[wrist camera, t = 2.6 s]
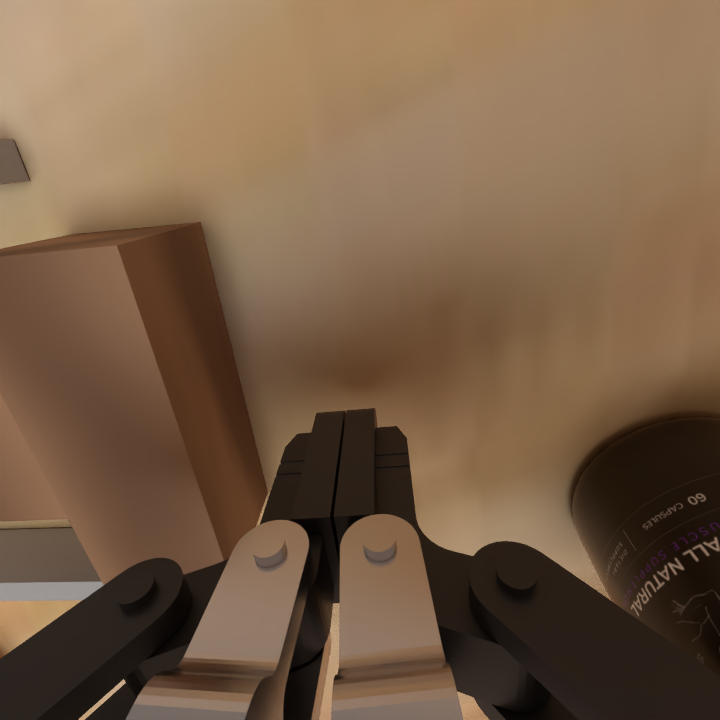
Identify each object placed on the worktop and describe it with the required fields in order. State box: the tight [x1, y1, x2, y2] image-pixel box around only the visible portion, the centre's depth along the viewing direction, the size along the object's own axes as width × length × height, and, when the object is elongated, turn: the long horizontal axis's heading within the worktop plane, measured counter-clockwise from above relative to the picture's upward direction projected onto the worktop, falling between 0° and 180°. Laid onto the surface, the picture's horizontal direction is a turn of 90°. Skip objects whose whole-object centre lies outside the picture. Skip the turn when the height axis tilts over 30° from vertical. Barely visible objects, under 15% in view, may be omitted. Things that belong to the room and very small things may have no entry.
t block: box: [0, 222, 268, 585], centre depth 12 cm, size 10×10×4 cm
